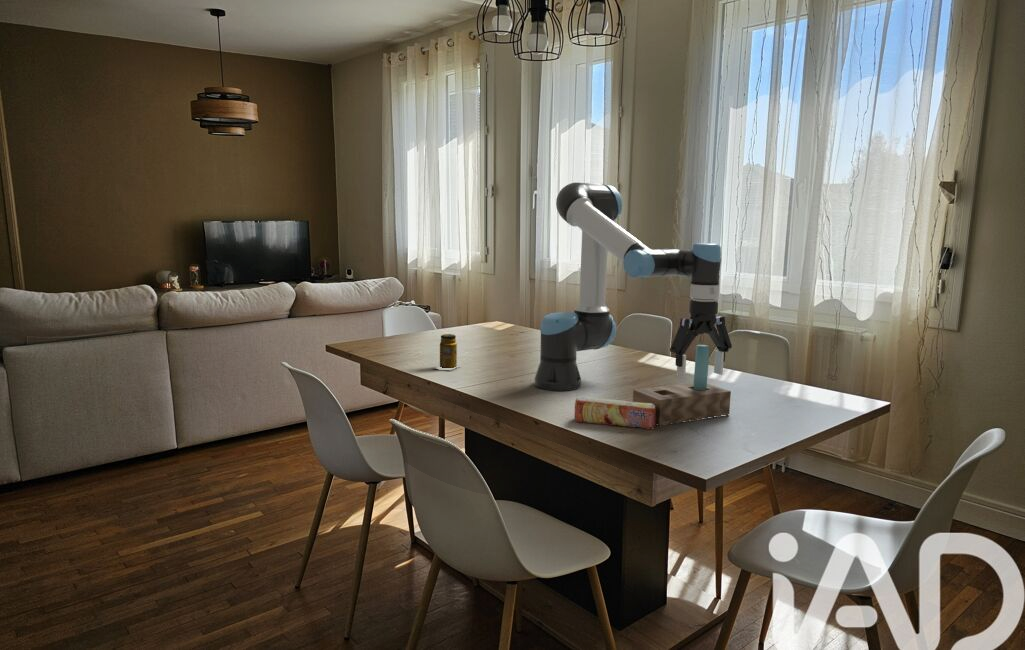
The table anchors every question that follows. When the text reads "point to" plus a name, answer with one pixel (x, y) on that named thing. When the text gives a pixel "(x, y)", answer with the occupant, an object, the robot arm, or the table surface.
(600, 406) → the snack package
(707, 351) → the peg
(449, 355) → the condiment
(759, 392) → the table surface
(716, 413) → the hole block
